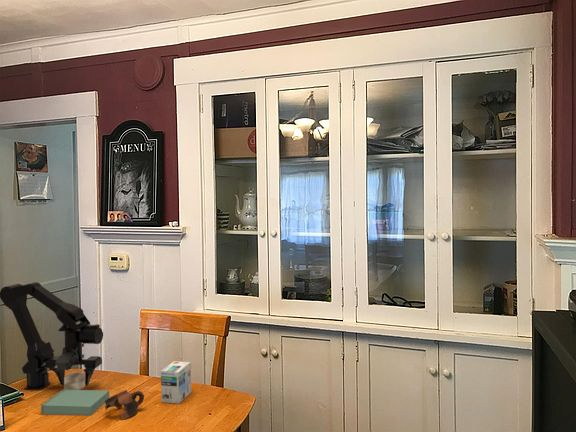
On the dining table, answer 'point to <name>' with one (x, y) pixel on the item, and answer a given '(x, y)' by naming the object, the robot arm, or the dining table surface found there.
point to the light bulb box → (176, 382)
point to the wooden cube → (74, 381)
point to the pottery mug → (125, 402)
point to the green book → (75, 402)
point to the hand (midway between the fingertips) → (74, 385)
